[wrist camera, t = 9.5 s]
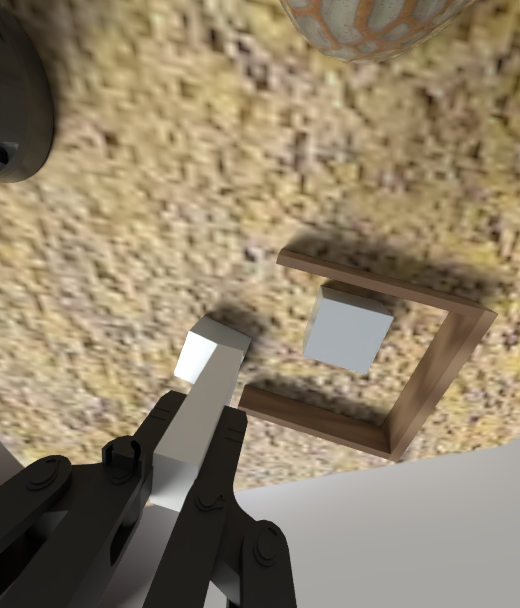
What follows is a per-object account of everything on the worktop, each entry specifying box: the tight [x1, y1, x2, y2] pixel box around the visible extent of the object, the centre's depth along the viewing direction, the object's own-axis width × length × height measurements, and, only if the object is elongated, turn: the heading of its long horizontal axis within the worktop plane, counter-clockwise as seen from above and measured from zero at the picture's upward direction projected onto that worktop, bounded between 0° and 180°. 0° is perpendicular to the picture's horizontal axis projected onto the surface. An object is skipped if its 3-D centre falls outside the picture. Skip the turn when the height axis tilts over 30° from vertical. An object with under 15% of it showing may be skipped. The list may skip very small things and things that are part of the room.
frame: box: [237, 249, 498, 462], centre depth 25 cm, size 18×18×4 cm
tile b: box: [174, 316, 252, 384], centre depth 27 cm, size 6×6×4 cm
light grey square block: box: [303, 286, 394, 374], centre depth 23 cm, size 6×6×4 cm
